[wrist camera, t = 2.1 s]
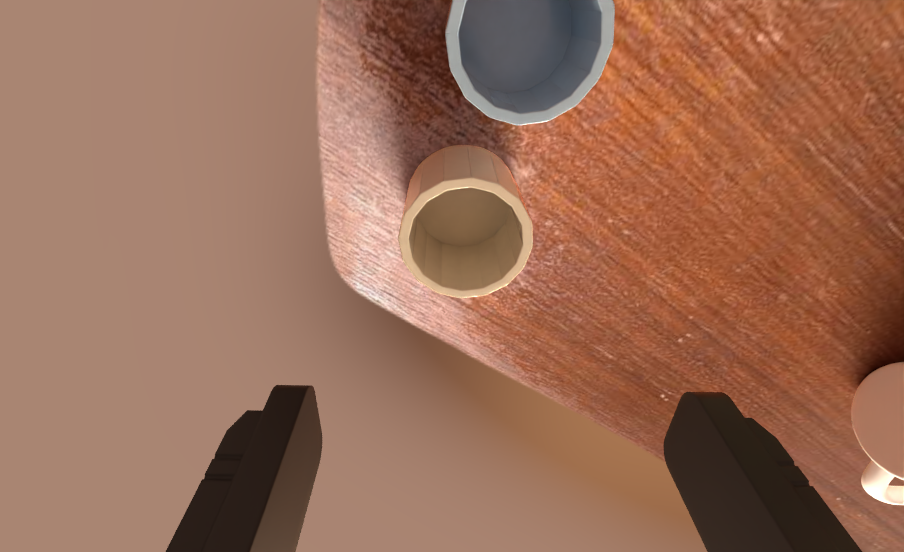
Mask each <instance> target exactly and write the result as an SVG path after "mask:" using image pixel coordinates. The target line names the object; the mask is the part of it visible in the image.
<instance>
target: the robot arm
mask: <svg viewBox="0 0 904 552" xmlns="http://www.w3.org/2000/svg"><path fill="white" fill-rule="evenodd" d="M321 451H322V431H321V426H320V419H319V414H318V408H317V402H316V396H315V391H314V388H313V386H299V385H295V386H294V385H276V386H275V387H274V388H273V390H272V391H271V394H270V396H269V398H268V400H267V403H266V405H265V407H264V409H263V411H249V410H248V411H246V412H245V413H244V414H243V415H242V417H240V418H239V419H238V420H237V421H236V422H235V423H234V425H232V426H231V427H230V428H229V429H228V430H227V432H226V434H225V436H224V438H223V439H222V442H221V443H220V445H219V448H218V450H217V451H216V454H215V458H214V459H212V461H211V463H210V465H209V467H208V469H207V471H206V473H205V478H204V480H202V481H201V483H200V485H199V487H198V489H197V491H196V493H195V495H194V497H193V499H192V501H191V503H190V505H189V507H188V509H187V511H186V513H185V515H184V517H183V519H182V520H181V522H180V525H179V526H178V528H177V530H176V532H175V534H174V536H173V538H172V540H171V542H170V544H169V546H168V548H167V550H166V552H295V551H296V547H297V544H298V540H299V536H300V533H301V529H302V525H303V522H304V518H305V514H306V511H307V507H308V503H309V500H310V496H311V492H312V489H313V485H314V481H315V477H316V474H317V470H318V466H319V463H320V458H321ZM664 456H665V461H666V464H667V467H668V469H669V471H670V473H671V475H672V478H673V480H674V482H675V484H676V486H677V488H678V490H679V492H680V494H681V497H682V499H683V501H684V503H685V505H686V507H687V509H688V511H689V514H690V516H691V517H692V520H693V522H694V524H695V526H696V528H697V530H698V532H699V534H700V536H701V538H702V541H703V543H704V545H705V547H706V549H707V551H708V552H862V551H861V550H860V548H859V547H858V546H857V544H856V543H855V542H854V540H853V539H852V538H851V536H850V535H849V534H848V532H847V531H846V530H845V528H844V527H843V526H842V524H841V523H840V522H839V520H838V519H837V518H836V516H835V515H834V514H833V513H832V511H831V510H830V509H829V507H828V506H827V505H826V503H825V502H824V501H823V499H822V498H821V497H820V495H819V494H818V493H817V491H816V490H815V489H814V487H813V486H810V485H809V481H808V479H807V478H806V477H805V475H804V474H803V473H802V471H801V470H800V469H799V467H798V466H795V465H794V461H793V459H792V458H791V457H790V455H789V454H788V453H787V451H786V450H785V449H784V448H783V446H782V445H781V444H780V442H779V441H778V440H777V438H776V437H774V436H773V435H772V434H771V433H770V432H768V431H767V430H766V429H765V428H763V427H762V426H761V425H760V424H759V423H757V422H756V421H755V420H754V419H752V418H744V416H743V415H742V414H741V412H740V411H739V409H738V408H737V407H736V405H735V404H734V402H733V401H732V400H731V398H730V397H729V396H728V395H726V394H725V393H722V392H686V393H684V394H683V395H682V397H681V399H680V401H679V404H678V406H677V409H676V411H675V414H674V416H673V419H672V421H671V424H670V426H669V429H668V431H667V434H666V436H665V440H664Z"/></svg>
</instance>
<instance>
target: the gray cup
mask: <svg viewBox="0 0 904 552" xmlns="http://www.w3.org/2000/svg"><path fill="white" fill-rule="evenodd" d="M614 16H615V8H614V2H613V0H451V1H450V6H449V10H448V15H447V19H446V23H445V37H446V45H447V53H448V61H449V68H450V71H451V73H452V74H453V76H454V78H455V80H456V82H457V84H458V86H459V88H460V89H461V91H462V93H463V95H464V97H466V99H467V100H468V101H469V102H471V103H472V104H473V105H474V106H475V107H477V108H478V109H479V110H480V111H482V112H483V113H484V114H485V115H486V116H488V117H490V118H492V119H496V120H499V121H503V122H506V123H510V124H514V125H526V124H533V123H541V122H547V121H550V120H552V119H554V118H555V117H557V116H559V115H561V114H562V113H564V112H566V111H568V110H570V109H571V108H573V107H575V106H576V105H577V104H578V103H579V102H580V101H581V100H582V99H583V98H584V96H585V95H586V94H587V93H588V92H589V91H590V90H591V88H592V87H593V86H594V85H595V84H596V83H597V81H598V80H599V78H600V77H601V74H602V72H603V69H604V67H605V64H606V62H607V59H608V57H609V54H610V52H611V49H612V47H613V45H612V44H613V39H614Z"/></svg>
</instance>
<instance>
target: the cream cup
mask: <svg viewBox="0 0 904 552" xmlns="http://www.w3.org/2000/svg"><path fill="white" fill-rule="evenodd" d="M398 241H399V245H400V250H401V255H402V259H403V262H404V263H405V265H406V266H407V268H408V269H409V270H410V272H411V273H412V274H413V276H414V277H415V279H416V280H417V281H418V282H420V283H422V284H423V285H425V286H426V287H428V288H430V289H431V290H433V291H434V292H436V293H439V294H443V295H448V296H453V297H457V298H468V297H476V296H484V295H487V294H489V293H492V292H494V291H496V290H498V289H500V288H502V287H504V286H506V285H507V284H509V283H510V282H511V281H512V280H513V279H514V278H515V277H516V276H517V275H518V274H519V273H520V271H521V270H522V269H523V268H524V267H525V264H526V262H527V259H528V257H529V254H530V252H531V249H532V247H533V231H532V221H531V218H530V215H529V213H528V210H527V208H526V205H525V202H524V200H523V197H522V195H521V192H520V190H519V187H518V185H517V183H516V181H515V179H514V177H513V175H512V172H511V171H510V169H509V168H508V166H507V165H506V164H505V163H504V161H502V160H501V159H500V158H499V157H498V156H497V155H495V154H494V153H492V152H490V151H488V150H486V149H484V148H481V147H478V146H473V145H454V146H449V147H445V148H443V149H440V150H438V151H436V152H434V153H432V154H431V155H430V156H428V157H427V158H426V159H425V160H423V161H422V162H421V164H420V165H419V166H418V167H417V169H416V170H415V172H414V173H413V175H412V178H411V180H410V182H409V186H408V191H407V196H406V200H405V205H404V210H403V215H402V220H401V226H400V231H399V236H398Z"/></svg>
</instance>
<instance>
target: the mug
mask: <svg viewBox="0 0 904 552" xmlns="http://www.w3.org/2000/svg"><path fill="white" fill-rule="evenodd" d="M851 419H852V425H853V429H854V432H855V435H856V437H857V439H858V441H859V443H860V445H861V446H862V448H863V450H864V451H865V452H866V454H867V455H868V456H869V457H870V458H871V459H872V460H871V461H870V462H869V463H868V465H867V466H866V468H865V470H864V471H863V474H862V477H861V483H862V486H863V488H864V489H865V491H866V492H867V493H868V494H870V495H871V496H872V497H874V498H876V499H878V500H880V501H882V502H885V503H889V504H894V505H904V486H889V485H888V484H889V483H890V481H891V480H892V479H893V478H894V477H897V478H900V479H902V480H904V362H899V363H893V364H889V365H886V366H883V367H881V368H879V369H877V370H875V371H873V372H872V373H870V374H869V375H868V376H867V377H866V378H865V379H864V380H863V381H862V382H861V384H860V385H859V387H858V388H857V390H856V392H855V395H854V397H853V401H852V407H851Z"/></svg>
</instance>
